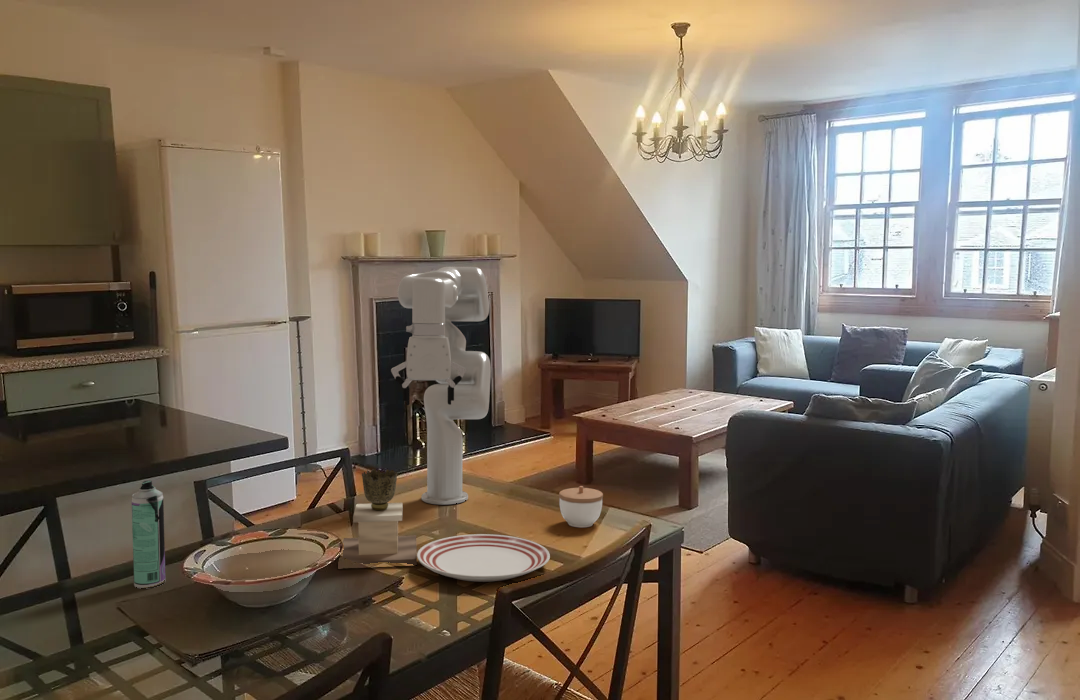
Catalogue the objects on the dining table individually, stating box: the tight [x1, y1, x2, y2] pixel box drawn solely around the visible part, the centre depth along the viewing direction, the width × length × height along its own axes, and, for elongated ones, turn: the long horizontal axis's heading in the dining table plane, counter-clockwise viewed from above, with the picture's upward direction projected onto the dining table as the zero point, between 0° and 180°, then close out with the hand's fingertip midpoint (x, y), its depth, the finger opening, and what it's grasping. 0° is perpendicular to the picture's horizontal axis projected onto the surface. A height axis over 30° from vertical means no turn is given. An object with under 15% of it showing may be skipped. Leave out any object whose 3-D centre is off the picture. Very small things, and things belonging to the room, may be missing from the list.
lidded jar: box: [558, 485, 604, 529], centre depth 196 cm, size 11×11×9 cm
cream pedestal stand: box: [342, 502, 418, 566], centre depth 172 cm, size 16×16×10 cm
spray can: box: [131, 480, 166, 589], centre depth 154 cm, size 6×6×20 cm
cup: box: [361, 468, 398, 511], centre depth 171 cm, size 8×7×8 cm
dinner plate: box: [417, 533, 551, 583], centre depth 166 cm, size 27×27×3 cm
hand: (428, 404), depth 187 cm, fingers open, 9 cm apart
